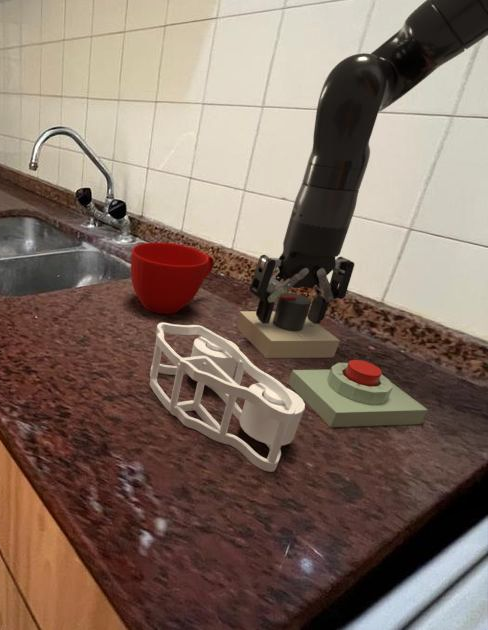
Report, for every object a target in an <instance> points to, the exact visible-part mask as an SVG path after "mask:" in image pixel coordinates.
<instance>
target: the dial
mask: <svg viewBox="0 0 488 630" xmlns="http://www.w3.org/2000/svg"><path fill="white" fill-rule="evenodd" d="M311 305H312V300H311V299H310V298H308V297H306V296H304V295H301V294H297V293H292V292H286V293H282V294H281V295H280V296H279V297H278V301H277V305H276V307H275V311H274V312H275V314H274V318H273V324H274V325H276V326H277V327H279V328H282V329H285V330H289V331H300V330H302V329H303V326H304V323H305V320H306V317H307V316H308V314H309V311H310V308H311Z"/></svg>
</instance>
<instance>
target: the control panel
mask: <svg viewBox="0 0 488 630" xmlns="http://www.w3.org/2000/svg"><path fill="white" fill-rule="evenodd" d="M256 312H257V310H256V311H255V310H254V311H252V310H249V311H243V310H242V311H241V310H240V311H239V314H238V317H237V321H236V324H235V328H236V329H237V330H238V331H239V332H240V333H241V334H242V335H243V337H245V338H246V340H248V341H249V342H250V343H251V344H252V346H253V347H255V348H256V349H257V351H258V352H260V353H261V354H262V356H263V357H265V359H307V358H308V359H312V358H313V359H315V358H318V359H321V358H326V359H327V358H335V356H336V352H337V351H338V347H339V344H340V342H341V339H339V338H337V337H336V336H335V335H333V334H332V333H331V332H329V330H326V329H325V328H324V327H322V326H321V325H320V324H313V323H312V322H311V321H309V320H308V315H307V317H306V320H305V323H304V326H303V329H302V330H300V331H289V330H285V329H282V328H279V327H277V326H276V325H274V324H273V318H274V314H275V311H272V315H271V318H270V322H269V323H268V324H263V323H262V322H261V321H260V320H259V319H258V317H257V316H256Z"/></svg>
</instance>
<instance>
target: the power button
mask: <svg viewBox="0 0 488 630" xmlns="http://www.w3.org/2000/svg"><path fill="white" fill-rule="evenodd" d="M347 363H348V365H347V368H346V370H345V373H344V376H345V377H347V378H348V379H349V380H351V381H353V382H355V383H357V384H360V385H364V386H369V387H371V386H377V384H378V381H379V379H380V377H381V374H382V375H383V370H382V369H381V368H379V367H378V366H376V365H375V364H373V363H371V362H368V361H365V360H359V359H351V360H349V361H348V362H347Z"/></svg>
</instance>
